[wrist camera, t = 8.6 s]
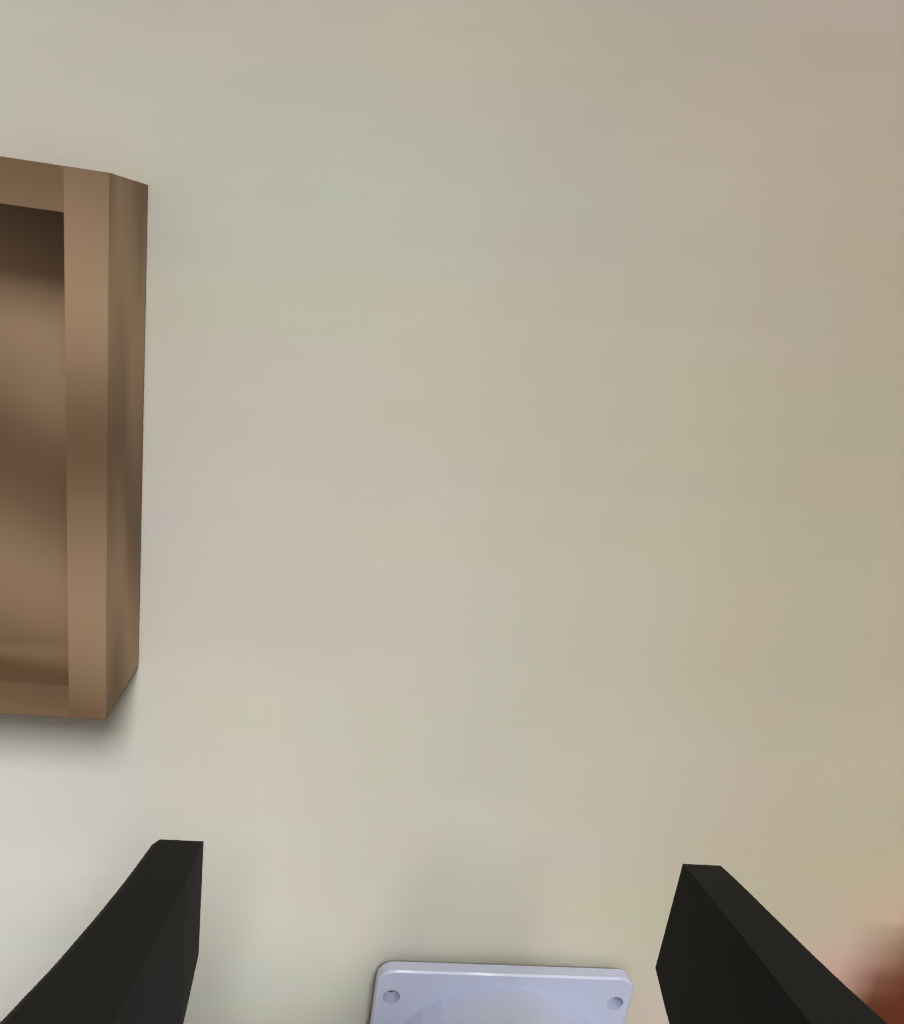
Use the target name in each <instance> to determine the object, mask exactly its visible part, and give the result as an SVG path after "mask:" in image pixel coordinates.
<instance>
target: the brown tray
mask: <svg viewBox="0 0 904 1024" xmlns="http://www.w3.org/2000/svg"><path fill="white" fill-rule="evenodd" d="M147 200H148V185H146V184H143V183H140V182H136V181H133V180H130V179H127V178H124V177H121V176H117V175H114V174H111V173H106V172H100V171H93V170H87V169H80V168H73V167H67V166H60V165H53V164H47V163H40V162H33V161H27V160H20V159H14V158H7V157H0V713H10V714H25V715H39V716H54V717H68V718H83V719H97V720H106V719H107V717H108V715H109V714H110V712H111V710H112V709H113V707H114V705H115V704H116V702H117V700H118V699H119V697H120V695H121V694H122V692H123V690H124V689H125V687H126V685H127V684H128V682H129V680H130V679H131V677H132V675H133V674H134V672H135V670H136V669H137V667H138V654H139V604H140V553H141V503H142V452H143V402H144V351H145V301H146V250H147Z"/></svg>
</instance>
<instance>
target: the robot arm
mask: <svg viewBox="0 0 904 1024" xmlns="http://www.w3.org/2000/svg"><path fill="white" fill-rule="evenodd" d="M202 862H203V841H182V840H158V841H157V842H156V843H154V844H153V845H152V846H151V847H150V848H149V850H148V851H147V852H146V854H145V855H144V857H143V858H142V859H141V861H140V862H139V864H138V865H137V866H136V868H135V869H134V870H133V872H132V873H131V874H130V876H129V877H128V878H127V879H126V881H125V882H124V883H123V885H122V886H121V887H120V888H119V890H118V891H117V892H116V893H115V895H114V896H113V897H112V898H111V900H110V901H109V902H108V903H107V905H106V906H105V907H104V908H103V910H102V911H101V912H100V913H99V914H98V916H97V917H96V918H95V919H94V920H93V922H92V923H91V924H90V925H89V926H88V927H87V929H86V930H85V931H84V932H83V933H82V934H81V935H80V937H79V938H78V939H77V940H76V941H75V942H74V944H73V945H72V946H71V947H70V948H69V949H68V951H67V952H66V953H65V954H64V955H63V956H62V958H61V959H60V960H59V961H58V962H57V963H56V964H55V965H54V966H53V968H52V969H51V970H50V971H49V972H48V973H47V974H46V975H45V976H44V977H43V978H42V979H41V980H40V981H39V982H38V984H37V985H36V986H35V987H34V988H33V989H32V990H31V991H30V992H29V993H28V994H27V995H26V996H25V997H24V998H23V999H22V1000H21V1001H20V1002H19V1004H18V1005H17V1006H16V1007H15V1008H14V1009H13V1010H12V1011H11V1012H10V1013H9V1014H8V1015H7V1016H6V1017H5V1018H4V1019H3V1020H2V1021H1V1022H0V1024H183V1022H184V1017H185V1013H186V1009H187V1004H188V1000H189V995H190V991H191V986H192V981H193V977H194V972H195V968H196V963H197V958H198V954H199V931H200V908H201V885H202ZM656 972H657V976H658V980H659V984H660V988H661V992H662V996H663V1000H664V1005H665V1009H666V1012H667V1016H668V1020H669V1023H670V1024H887V1023H886V1022H885V1021H884V1020H883V1019H882V1018H880V1017H879V1016H878V1015H877V1014H876V1013H875V1012H874V1011H872V1010H871V1009H870V1008H869V1007H868V1006H867V1005H866V1004H865V1003H864V1002H862V1001H861V1000H860V999H859V998H858V997H857V996H856V995H855V994H854V993H853V992H852V991H850V990H849V989H848V988H847V987H846V986H845V985H844V984H843V983H842V982H841V981H840V980H839V979H838V978H836V977H835V976H834V975H833V974H832V973H831V972H830V971H829V970H828V969H827V968H826V967H825V966H824V965H823V964H822V963H821V962H820V961H819V960H817V959H816V958H815V957H814V956H813V955H812V954H811V953H810V952H809V951H808V950H807V949H806V948H805V947H804V946H803V945H802V944H801V943H800V942H799V941H798V940H797V939H796V938H795V937H794V936H793V935H792V934H791V933H790V932H789V931H788V930H787V929H786V928H785V927H784V926H783V925H782V924H780V923H779V922H778V921H777V920H776V919H775V918H774V917H773V916H772V915H771V914H770V913H769V912H768V911H767V910H766V909H765V908H764V907H763V906H762V905H761V904H760V903H759V902H758V901H757V900H756V899H755V898H754V897H753V896H752V895H751V894H750V893H749V892H748V891H747V890H746V889H745V888H744V887H743V886H742V885H741V884H740V883H739V882H738V881H736V880H735V879H734V878H733V877H732V876H731V875H730V874H729V873H728V872H727V871H726V870H725V869H724V868H722V867H721V866H713V865H692V864H683V866H682V870H681V873H680V877H679V881H678V885H677V889H676V892H675V896H674V900H673V904H672V907H671V911H670V915H669V919H668V923H667V926H666V930H665V934H664V938H663V941H662V945H661V949H660V953H659V957H658V960H657V964H656ZM391 990H394V992H388V991H391ZM632 993H633V984H632V981H631V978H630V976H629V974H628V973H627V972H626V971H624V970H620V969H605V968H576V967H547V966H518V965H489V964H460V963H431V962H402V961H393V962H388V963H385V964H383V965H382V966H381V967H380V968H379V969H378V971H377V974H376V981H375V989H374V996H373V1003H372V1010H371V1017H370V1024H624V1023H625V1019H626V1015H627V1011H628V1008H629V1004H630V1000H631V996H632ZM613 997H615V998H613Z"/></svg>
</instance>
